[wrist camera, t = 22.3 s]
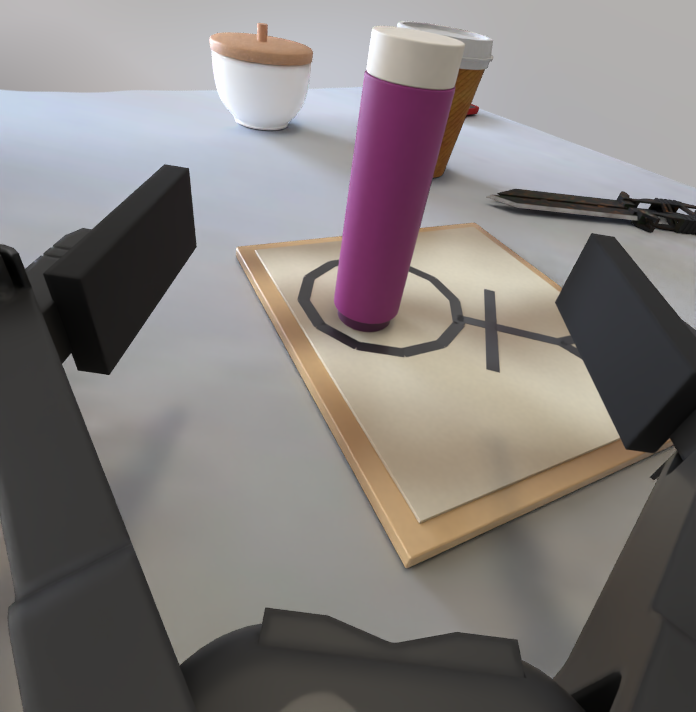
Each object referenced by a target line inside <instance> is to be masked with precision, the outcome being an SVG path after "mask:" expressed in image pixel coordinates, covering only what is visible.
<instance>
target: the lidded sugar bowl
mask: <svg viewBox="0 0 696 712" xmlns="http://www.w3.org/2000/svg"><path fill="white" fill-rule="evenodd" d="M257 25H258V26H257V33H258V34H248V33H217V34H214V35H212V36H211V37H210V48H211V50H212V64H213V73H214V79H215V83H216V87H217V91H218V93H219V96H220V98H221V100H222V102H223V104H224V105H225V107H226V108H227V109H228V111H229V112H230V113H231V114H232V115H233V116H234V117H235V121H236V122H237V123H239V124H240V125H243V126H245V127H249V128H253V129H260V130H280V129H284V128H286V127H287V126H288V123H289V122H290V121H291V120H292V119H293V118H295V116H296V115H297V114H298V113H299V111H300V110H301V108H302V106H303V104H304V102H305V99H306V96H307V92H308V86H309V81H310V70H311V62H312V57H313V51H312V50H311V48H309V47H307V46H305V45H303V44H300V43H297V42H294V41H290V40H286V39H282V38H277V37H271V36H267V29H268V27H267V26H268V25H267V24H264V23H258V24H257Z"/></svg>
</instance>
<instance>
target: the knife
mask: <svg viewBox="0 0 696 712" xmlns="http://www.w3.org/2000/svg"><path fill="white" fill-rule="evenodd" d="M497 194H499V195H500V196H499V195H490V196H487V198H490V199H493V200H496V201H499V202H502V203H505V204H508V205H511V206H514V207H517V208H525V209H534V210H544V211H553V212H562V213H572V214H581V215H591V216H600V217H609V218H619V219H628V220H632V221H631V223H633V224H634V225H635V226H637V227H639V228H641V229H644V230H646V231H649V232H653V231H654V229H655V227H656V228H661V229H666V230H674V231H676V232H677V233H680V232H681V233H687V234H689V233H691V234H696V211H695V212H692V211H691V210H689V209H688V208H692V209H696V206H694V205H689V204H685V203H682V202H679V201H676V200H673V201H672V200H667V199H664V200H663V199H658V198H655V199H632V198H629V195H628V194H627V193H625V192H622V191H621V193H620V195H619V196H618V198H617V200H610V199H601V198H592V197H583V196H574V195H565V194H557V193H548V192H539V191H530V190H521V189H513V190H509V191H505V192H500V193H497ZM639 203H648V204H651V206H650V207H649V209H641V208H637V206H638V205H639ZM678 208H680V209H682V210H683V211H684V212H686V213H687V214H689V215H685V214H681V213H676V212H677V210H678ZM657 216H660V217H664V218H666V219H667V222H668V224H669V225H666V224H658V223H659V221H660V218H658V217H657ZM677 221H678V223H677Z"/></svg>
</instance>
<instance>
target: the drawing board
mask: <svg viewBox="0 0 696 712" xmlns="http://www.w3.org/2000/svg"><path fill="white" fill-rule="evenodd" d="M341 243H342V236H339V237H329V238H319V239H309V240H299V241H290V242H280V243H270V244H260V245H250V246H241V247H236V257H237V259H238V261H239V263H240V264H241V266H242V268H243V270H244V272H245V274H246V275H247V277H248V279H249V281H250V283H251V285H252V286H253V288H254V290H255V292H256V294H257V296H258V297H259V299H260V301H261V303H262V305H263V307H264V308H265V310H266V312H267V314H268V316H269V318H270V320H271V321H272V323H273V325H274V327H275V329H276V331H277V332H278V334H279V336H280V338H281V340H282V342H283V343H284V345H285V347H286V349H287V351H288V353H289V354H290V356H291V358H292V360H293V362H294V364H295V365H296V367H297V369H298V371H299V373H300V375H301V377H302V378H303V380H304V382H305V384H306V386H307V388H308V389H309V391H310V393H311V395H312V397H313V399H314V400H315V402H316V404H317V406H318V408H319V410H320V411H321V413H322V415H323V417H324V419H325V421H326V422H327V424H328V426H329V428H330V430H331V432H332V434H333V435H334V437H335V439H336V441H337V443H338V445H339V446H340V448H341V450H342V452H343V454H344V456H345V457H346V459H347V461H348V463H349V465H350V467H351V468H352V470H353V472H354V474H355V476H356V478H357V479H358V481H359V483H360V485H361V487H362V489H363V491H364V492H365V494H366V496H367V498H368V500H369V502H370V503H371V505H372V507H373V509H374V511H375V513H376V514H377V516H378V518H379V520H380V522H381V524H382V525H383V527H384V529H385V531H386V533H387V535H388V536H389V538H390V540H391V542H392V544H393V546H394V547H395V549H396V551H397V553H398V555H399V557H400V559H401V560H402V562H403V564H404V566H405V567H406V568H409V567H411V566H413V565H415V564H418V563H420V562H422V561H424V560H426V559H428V558H431V557H433V556H435V555H437V554H439V553H441V552H444V551H446V550H448V549H450V548H452V547H454V546H457V545H459V544H461V543H463V542H465V541H467V540H469V539H472V538H474V537H476V536H478V535H480V534H482V533H485V532H487V531H489V530H491V529H493V528H495V527H498V526H500V525H502V524H504V523H506V522H508V521H511V520H513V519H515V518H517V517H519V516H521V515H523V514H526V513H528V512H530V511H532V510H534V509H536V508H539V507H541V506H543V505H545V504H547V503H549V502H552V501H554V500H556V499H558V498H560V497H562V496H565V495H567V494H569V493H571V492H573V491H575V490H577V489H580V488H582V487H584V486H586V485H588V484H590V483H593V482H595V481H597V480H599V479H601V478H603V477H606V476H608V475H610V474H612V473H614V472H616V471H619V470H621V469H623V468H625V467H627V466H629V465H631V464H634V463H636V462H638V461H640V460H642V459H644V458H647V457H649V456H651V455H653V454H654V453H647V452H640V451H633V450H626V449H625V447H624V445H623V443H622V441H621V439H620V436H619V434H618V432H617V430H616V428H615V426H614V424H613V422H612V420H611V418H610V416H609V414H608V412H607V410H606V407H605V405H604V403H603V401H602V399H601V397H600V395H599V393H598V391H597V389H596V387H595V385H594V383H593V381H592V378H591V376H590V374H589V372H588V370H587V368H586V366H585V364H584V362H583V360H582V358H581V356H580V354H579V352H578V349H577V347H576V345H575V343H574V341H573V339H572V337H571V335H570V333H569V331H568V329H567V327H566V325H565V323H564V320H563V318H562V316H561V314H560V312H559V310H558V308H557V306H556V304H555V301H556V299H557V297H558V296H559V294H560V292H561V290H562V287H560V286H559V285H558V284H556V283H555V282H554V281H552V280H551V279H550V278H548V277H547V276H546V275H544V274H543V273H541V272H540V271H539V270H537V269H536V268H535V267H533V266H532V265H531V264H529V263H528V262H527V261H525V260H524V259H523V258H521V257H520V256H519V255H517V254H516V253H515V252H513V251H512V250H511V249H509V248H508V247H507V246H505V245H504V244H503V243H501V242H500V241H499V240H497V239H496V238H495V237H493V236H492V235H491V234H489V233H488V232H487V231H485V230H484V229H483V228H481V227H480V226H479V225H477V224H476V223H466V224H456V225H447V226H437V227H427V228H420V229H419V233H418V237H417V241H416V245H415V249H414V252H413V256H412V260H411V264H410V268H409V272H408V276H407V280H406V284H405V288H404V291H403V295H402V299H401V303H400V307H399V311H398V313H397V315H396V316H395V317H394V318H393V319H391V320H390V323H389V325H388V326H387V327H386V328H384V329H383V330H380V331H376V332H362V331H358V330H354V329H352V328H350V327H348V326H346V325H345V324H344V323H343V322H342V321H341V320H340V319H339V316H338V309H337V308H336V306H335V304H334V294H335V287H336V280H337V272H338V265H339V258H340V250H341ZM672 445H674V444H673V443H672V441H671V439H670V438H669V439H668V440H667V441H666V442H665V443H664V444H663V446H662V447H661V448H660V449H659V450H658V451H657V452H660V451H662V450H664V449H666V448H668V447H670V446H672ZM657 452H656V453H657Z"/></svg>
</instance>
